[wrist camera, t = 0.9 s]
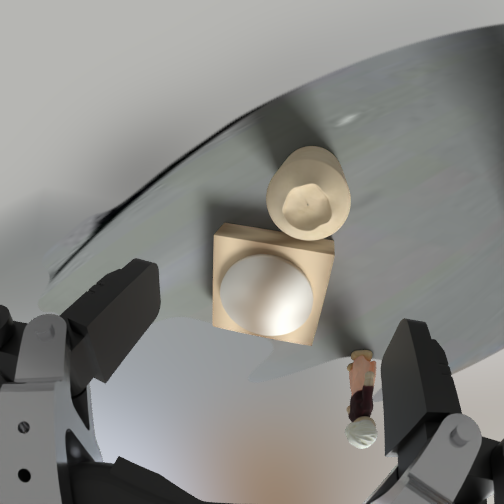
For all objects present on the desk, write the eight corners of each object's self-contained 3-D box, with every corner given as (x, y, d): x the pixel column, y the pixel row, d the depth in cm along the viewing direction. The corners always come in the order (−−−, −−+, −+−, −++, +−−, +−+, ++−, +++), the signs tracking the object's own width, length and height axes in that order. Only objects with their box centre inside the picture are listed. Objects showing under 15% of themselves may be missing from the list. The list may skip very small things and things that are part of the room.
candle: (296, 135, 25) (282, 147, 17) (352, 162, 25) (368, 188, 16) (273, 188, 28) (248, 227, 19) (326, 213, 28) (327, 263, 19)
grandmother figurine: (371, 377, 36) (375, 459, 25) (343, 378, 37) (340, 461, 26) (379, 335, 33) (389, 425, 21) (347, 336, 34) (348, 427, 22)
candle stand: (333, 240, 29) (334, 259, 25) (313, 327, 34) (311, 351, 30) (224, 222, 31) (210, 238, 27) (221, 309, 36) (210, 330, 32)
